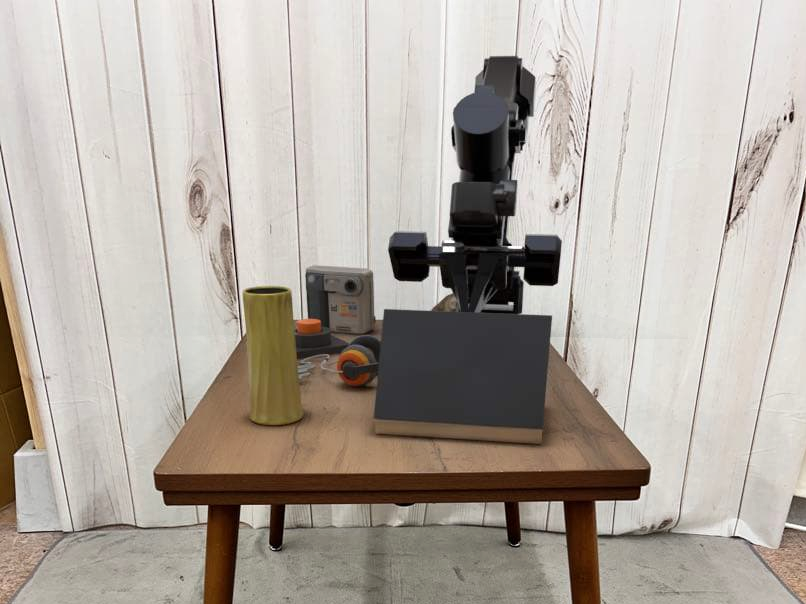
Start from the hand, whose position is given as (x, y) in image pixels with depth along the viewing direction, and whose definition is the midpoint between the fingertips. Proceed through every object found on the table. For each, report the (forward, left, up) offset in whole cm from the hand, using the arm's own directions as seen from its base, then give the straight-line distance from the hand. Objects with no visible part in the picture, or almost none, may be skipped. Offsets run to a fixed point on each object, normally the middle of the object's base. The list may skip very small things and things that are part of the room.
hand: (467, 324), depth 84 cm
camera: (-8, -49, -11) cm, 51 cm away
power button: (+2, -39, -8) cm, 40 cm away
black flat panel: (+2, +2, -4) cm, 5 cm away
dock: (+2, -39, -11) cm, 40 cm away
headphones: (+3, -21, -11) cm, 24 cm away
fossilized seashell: (-24, -40, -11) cm, 48 cm away
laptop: (0, 0, -11) cm, 11 cm away
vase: (+18, -12, -11) cm, 24 cm away
